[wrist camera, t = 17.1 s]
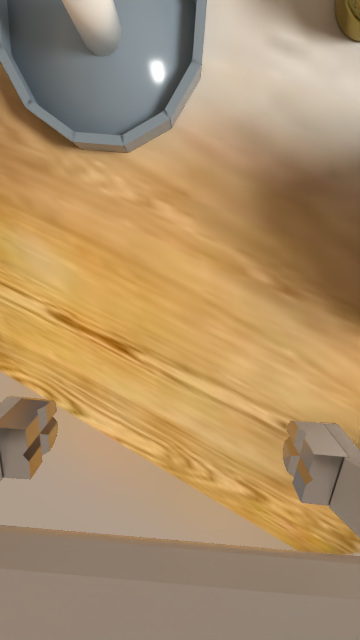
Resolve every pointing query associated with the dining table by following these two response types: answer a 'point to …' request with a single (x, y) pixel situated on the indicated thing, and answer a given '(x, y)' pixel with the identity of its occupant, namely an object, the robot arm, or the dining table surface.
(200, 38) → the dish
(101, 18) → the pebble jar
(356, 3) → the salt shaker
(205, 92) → the dining table surface
